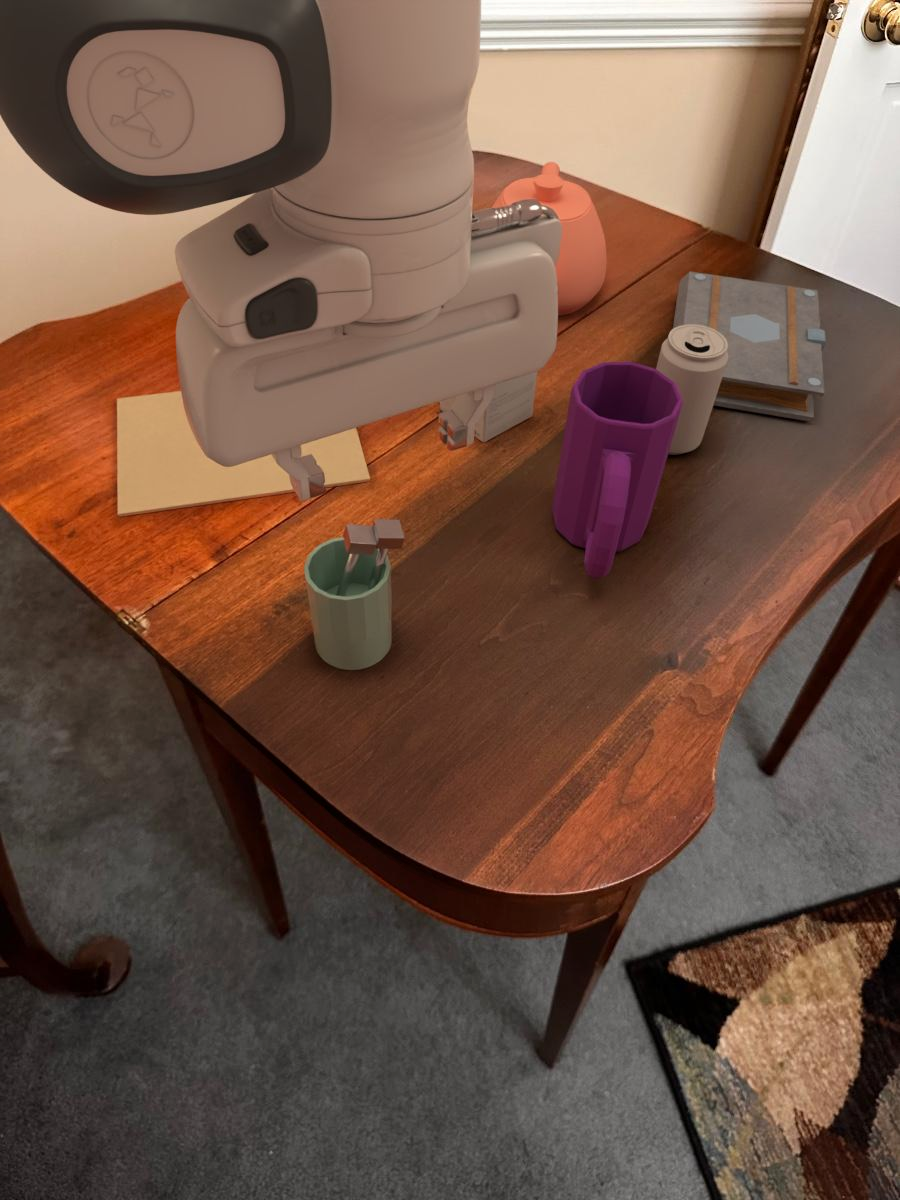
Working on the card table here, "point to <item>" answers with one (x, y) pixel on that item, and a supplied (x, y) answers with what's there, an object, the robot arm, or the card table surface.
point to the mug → (613, 458)
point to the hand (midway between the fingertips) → (384, 466)
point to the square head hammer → (355, 550)
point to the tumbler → (348, 607)
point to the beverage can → (693, 378)
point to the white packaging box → (504, 406)
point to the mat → (206, 461)
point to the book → (760, 341)
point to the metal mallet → (385, 544)
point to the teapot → (567, 234)
